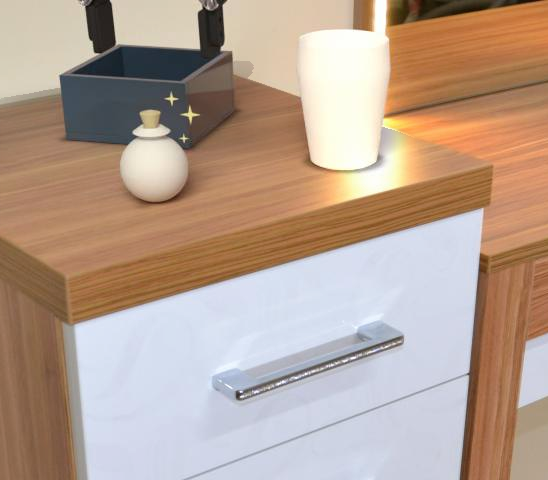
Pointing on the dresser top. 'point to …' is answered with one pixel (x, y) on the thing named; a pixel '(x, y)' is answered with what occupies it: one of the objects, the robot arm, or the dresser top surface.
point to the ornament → (154, 160)
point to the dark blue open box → (147, 93)
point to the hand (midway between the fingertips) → (157, 52)
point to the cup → (343, 95)
